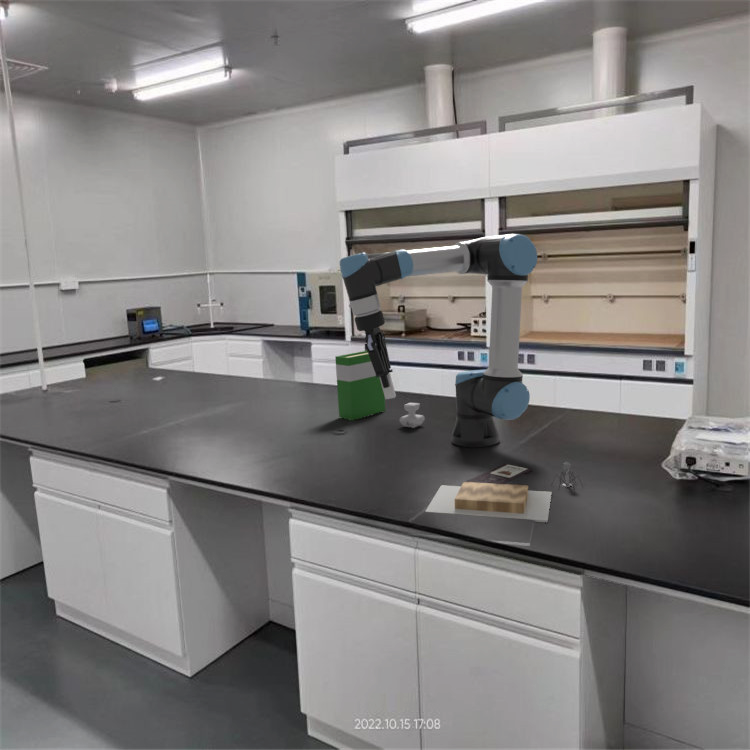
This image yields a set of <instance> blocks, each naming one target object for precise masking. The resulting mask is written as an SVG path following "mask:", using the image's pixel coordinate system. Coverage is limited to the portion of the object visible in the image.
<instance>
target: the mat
mask: <svg viewBox="0 0 750 750" xmlns="http://www.w3.org/2000/svg"><path fill="white" fill-rule="evenodd" d="M461 486H462V485H461ZM461 486H459V485H443V484H442V485H440V487H439V488H438V490H437V491H436V493H435V495H434V496H433V498H432V499H431V501H430V503H429V505H428V506H427V508H426V509H425V510H424V511H425V513H434V514H435V513H438V514H451V515H464V516H478V517H479V516H480V517H491V518H492V517H493V518H503V519H506V518H507V519H516V520H517V519H518V520H520V519H521V520H530V521H531V520H532V521H533V522H534V523H545V522H546V523H548V521H549V516H550V510H551V509H550V507H551V503H550V502H551V501H552V496H551V495H552V494H553V492H552V491H544V490H542V491H541V490H530V489H528V498H527V502H526V506H525V510H524V514H522V513H508V512H494V511H480V510H466V509H455V497H456V495H457V494H458V492H459V490H460V488H461ZM549 509H550V510H549Z"/></svg>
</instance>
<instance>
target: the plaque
mask: <svg viewBox="0 0 750 750" xmlns="http://www.w3.org/2000/svg"><path fill="white" fill-rule="evenodd" d="M528 490H529V485H526V484H525V485H523V484H510V483H509V484H508V483H505V484H493V483H476V482H466V481H463V482H462V484H461V488H460V490H459V492H458V494H457V495H456V497H455V509H466V510H480V511H494V512H508V513H522V514H524V510H525V506H526V502H527V498H528Z"/></svg>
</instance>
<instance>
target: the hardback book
mask: <svg viewBox="0 0 750 750" xmlns="http://www.w3.org/2000/svg"><path fill="white" fill-rule="evenodd" d="M335 370H336V387H337V401H338V402H337V403H338V417H341V418H340V419H342V418H345V419H344V420H346V419H350V420H349V421H351V420H353V421H355V420H354V419H357V420H359V419H358V418H360V419H362V418H361V417H364V416H367V417H369V416H368V415H371V414H375V413H378V414H380V413H379V412H382V411H385V412H386V399H385V396H384V392H383V389H382V385H381V381H380V378H379V377H376V374H375V371H374V368H373V365H372V363H371V360H370V357H369V354H368V352H367V350H363V351H358V352H352V353H348V354H341V355H336V356H335ZM382 413H383V412H382ZM375 415H376V414H375ZM371 416H372V415H371ZM364 418H365V417H364Z"/></svg>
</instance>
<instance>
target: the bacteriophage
mask: <svg viewBox="0 0 750 750" xmlns="http://www.w3.org/2000/svg"><path fill="white" fill-rule="evenodd" d="M571 468H572V463H570V462H568V461H565V462H563V465H562V469H564V470H565V471H564V472H563V471H561V472H560V473H561V474H560V476H559V475H558V474H557V473H556V475H555V476H554V478H553V481H552V483H551V486H552V485H553V482H554V480H555V478H556V477H558V478H559V481H560V482H559V486H558V489H560V487H563V486H565V487H566V488H567V487H570V486H572V487H573V490H575V483H574V482H576V480H575V479H576V478H577V477H579V475H577V476H575V475H574V472H573V471H572V472H570V471H569V470H570V469H571ZM578 480H579V481H580V483H581V486H582V487H584V485H583V483H582V481H581V479H580V478H578ZM562 482H563V483H562ZM561 483H562V484H561ZM571 483H572V484H571ZM565 487H564V488H565ZM570 488H571V487H570ZM575 491H576V490H575Z"/></svg>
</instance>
